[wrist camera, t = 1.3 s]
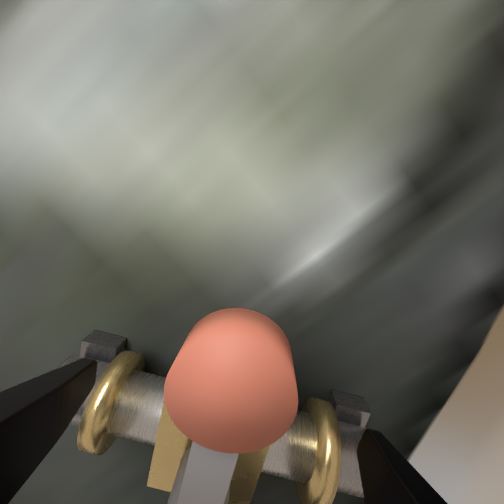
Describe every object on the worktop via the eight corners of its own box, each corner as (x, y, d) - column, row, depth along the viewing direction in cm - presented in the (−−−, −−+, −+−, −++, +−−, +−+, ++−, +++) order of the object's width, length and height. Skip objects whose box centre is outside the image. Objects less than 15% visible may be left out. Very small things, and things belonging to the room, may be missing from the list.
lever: (240, 494, 14) (231, 595, 11) (162, 474, 14) (127, 570, 11) (300, 306, 12) (315, 359, 8) (204, 282, 12) (176, 324, 8)
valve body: (368, 386, 19) (413, 474, 13) (341, 448, 20) (371, 552, 15) (96, 317, 19) (19, 375, 13) (88, 385, 20) (16, 464, 14)
